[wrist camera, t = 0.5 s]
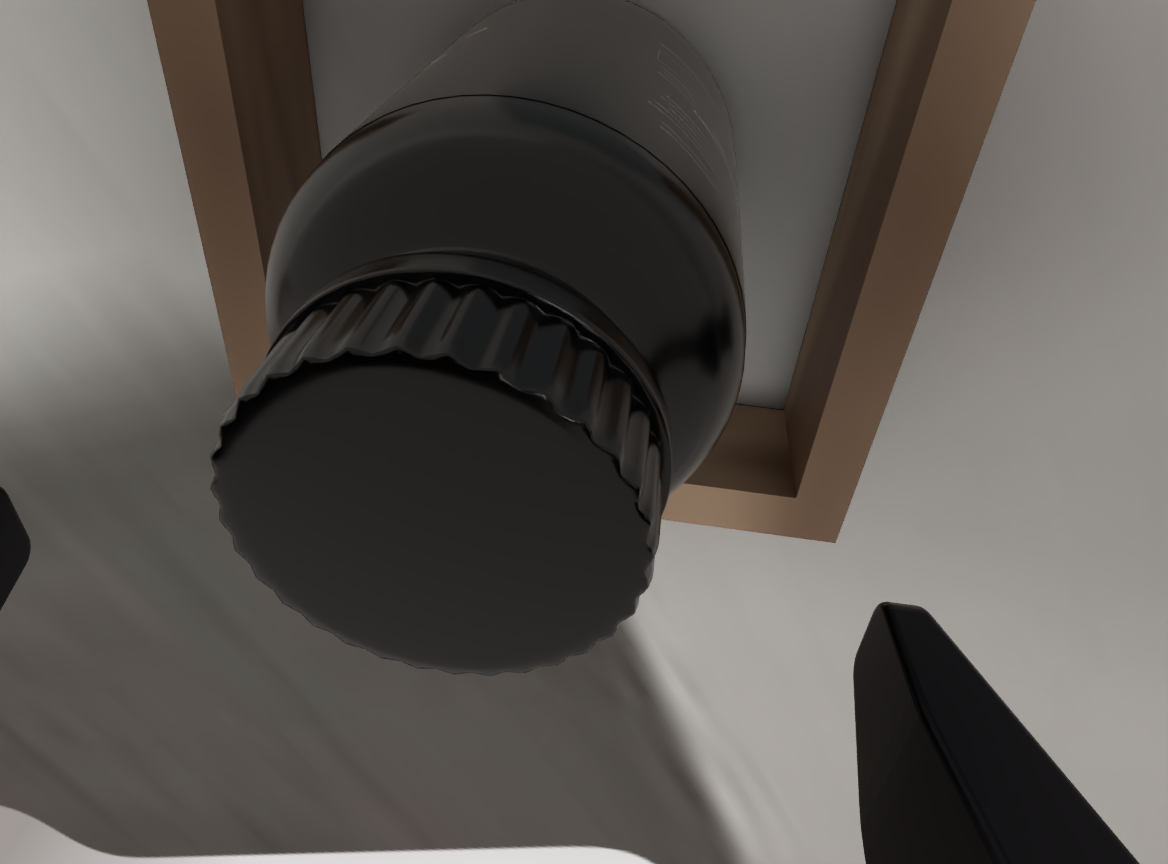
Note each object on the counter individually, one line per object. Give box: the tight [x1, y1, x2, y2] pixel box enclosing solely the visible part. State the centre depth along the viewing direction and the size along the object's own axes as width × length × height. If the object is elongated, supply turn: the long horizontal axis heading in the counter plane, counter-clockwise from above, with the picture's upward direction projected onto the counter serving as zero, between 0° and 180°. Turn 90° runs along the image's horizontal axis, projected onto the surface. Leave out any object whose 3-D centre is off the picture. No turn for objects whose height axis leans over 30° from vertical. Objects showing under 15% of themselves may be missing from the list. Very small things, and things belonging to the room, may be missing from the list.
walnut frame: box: [147, 0, 1036, 543], centre depth 17 cm, size 14×13×4 cm
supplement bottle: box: [210, 0, 746, 676], centre depth 13 cm, size 7×7×12 cm
